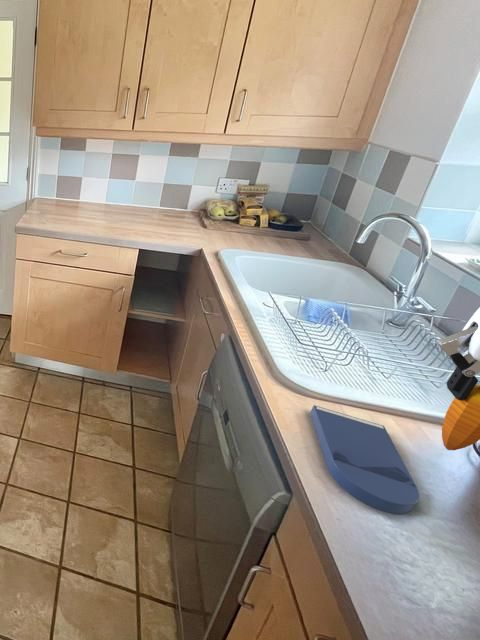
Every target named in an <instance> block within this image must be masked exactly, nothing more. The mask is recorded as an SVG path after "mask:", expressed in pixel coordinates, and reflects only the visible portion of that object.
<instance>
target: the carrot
mask: <svg viewBox="0 0 480 640" xmlns="http://www.w3.org/2000/svg"><path fill="white" fill-rule="evenodd" d="M441 438H442V439H441V440H442V444H443V446H444V448H445V449H446V450H447V451H457V450H461V449H465V448H467V447H470V446H472V445H474V444H475V443H477V442H479V441H480V384H476V385H475V387H474V388H473V389H472V391H471V392H470V394H469V395H468V397H467V398H466V400H463V401H461V400H457V399H456V398H455V397H454V398H453V400H451V403H450V405H449V407H448V408H447V410H446V413H445V415H444V419H443V422H442V426H441Z"/></svg>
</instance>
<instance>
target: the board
mask: <svg viewBox="0 0 480 640" xmlns="http://www.w3.org/2000/svg"><path fill="white" fill-rule="evenodd" d="M309 416H310V419H311V422H312V425H313V428H314V431H315V434H316V437H317V440H318V443H319V446H320V449H321V452H322V455H323V458H324V461H325V465H326V467H327V469H328V472H329V474H330V475H331V477H332V478H333V480H334V481H335V482H336V483H337V484H338V485H339V486H340V487H341V488H342V489H343V490H344V491H346V492H347V493H348V494H350V495H351V496H352V497H354V498H355V499H357V500H359V501H360V502H362V503H364V504H366V505H367V506H369V507H372V508H374V509H376V510H378V511H382V512H385V513H389V514H395V515H403V514H407V513H409V512H411V511H412V509H414V507H415V506H416V504H417V503H418V501H419V499H420V492H419V488H418V486H417V485H416V482H415V481H414V479H413V477H412V476H411V473H410V472H409V470H408V468H407V466H406V464H405V463H404V460H403V459H402V457H401V455H400V453H399V452H398V449H397V447H396V446H395V444H394V442H393V440H392V438H391V435H390V434H389V433H388V430H387V429H386V427H385V425H384V424H380V423H375V422H373V421H369V420H366V419H363V418H359V417H355V416H352V415H349V414H345V413H341V412H338V411H335V410H331V409H329V408H325V407H321V406H318V405H315V404H313V406H312V408H311V410H310V412H309Z"/></svg>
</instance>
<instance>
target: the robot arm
mask: <svg viewBox="0 0 480 640" xmlns="http://www.w3.org/2000/svg"><path fill="white" fill-rule="evenodd" d="M435 343H436V345H437V346H438V347H439V348H440V349H441V350H442V351H443V352H444V353H445V354H446V355H447V356H448V357H449V358H450V360H451V361H452V362H453V364H454V365H455V366H456V367H455V369H454V371H453V372H452V374H451V375H450V376H449V378H448V379H447V382H446V387H447V390H448V391H449V392H450V393H451V395H452V396H453V397H454V398H456V399H457V400H461V401H463V400H466V398H467V397H468V395H469V394H470V392H471V391H472V389H473V388H474V387H475V385H478V382H479V379H478V378H477V377H476V376H477V375H478V374H479V373H480V306H479V307H478V308H477V309H476V311H475V312H474V313H473V314H472V316H471V317H470V318H469V320H468V321H467V322H466V324H465V325H464V327H463V328H462V330H461V331H457V332H456V333H453V334H450V335H447V336H445V337H443V338H440V339H437V340H436V342H435ZM460 347H464V348H468V349H466V350H465V351H464V352H462V353H461V352H460V351H459V350H458V349H459V348H460Z"/></svg>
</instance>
